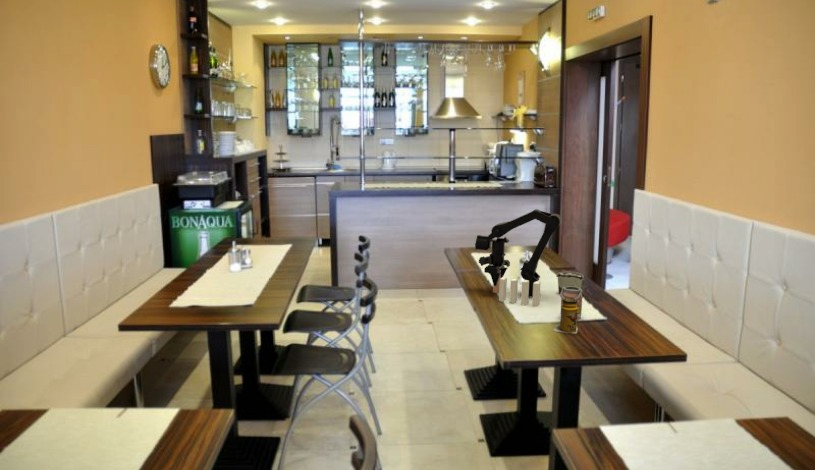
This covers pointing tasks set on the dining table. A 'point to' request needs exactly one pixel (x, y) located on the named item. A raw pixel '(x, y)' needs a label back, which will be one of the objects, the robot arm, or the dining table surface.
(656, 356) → the dining table surface
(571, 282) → the food container
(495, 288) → the domino
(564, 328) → the condiment
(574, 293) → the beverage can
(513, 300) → the domino
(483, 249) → the robot arm
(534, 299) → the domino
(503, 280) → the domino
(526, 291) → the domino
